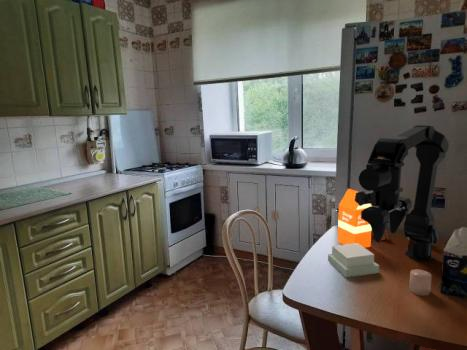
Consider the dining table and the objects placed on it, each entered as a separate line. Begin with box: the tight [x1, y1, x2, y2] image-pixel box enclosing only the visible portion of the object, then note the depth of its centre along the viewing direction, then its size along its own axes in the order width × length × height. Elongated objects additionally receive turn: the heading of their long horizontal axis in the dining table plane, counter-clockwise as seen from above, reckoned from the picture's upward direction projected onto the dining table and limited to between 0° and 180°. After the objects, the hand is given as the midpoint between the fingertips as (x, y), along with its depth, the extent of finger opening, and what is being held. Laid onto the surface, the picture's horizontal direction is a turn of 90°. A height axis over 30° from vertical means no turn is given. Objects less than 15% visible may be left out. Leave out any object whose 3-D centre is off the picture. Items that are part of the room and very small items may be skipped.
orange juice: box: [337, 188, 373, 249], centre depth 121 cm, size 8×9×20 cm
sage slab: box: [327, 253, 380, 278], centre depth 106 cm, size 11×11×3 cm
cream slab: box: [331, 243, 375, 267], centre depth 106 cm, size 9×9×3 cm
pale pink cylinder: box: [408, 269, 432, 297], centre depth 91 cm, size 5×5×5 cm
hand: (385, 237), depth 95 cm, fingers open, 9 cm apart
